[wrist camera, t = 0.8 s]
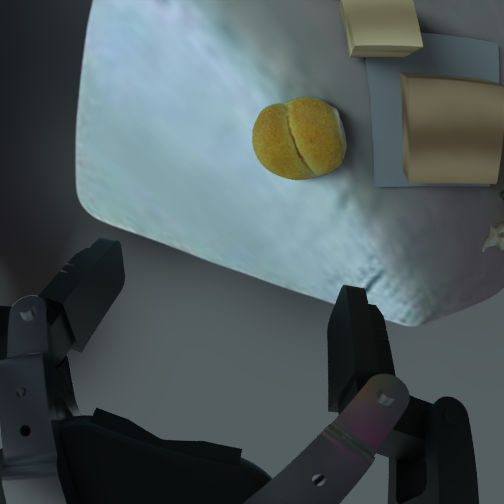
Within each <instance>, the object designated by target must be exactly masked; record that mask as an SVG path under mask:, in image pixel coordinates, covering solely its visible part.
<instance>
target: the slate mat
mask: <svg viewBox="0 0 504 504" xmlns="http://www.w3.org/2000/svg"><path fill="white" fill-rule="evenodd" d="M420 33H421V38H422V43H423V47H422V48H420V49H418V50H416V51H415V52H413V53H411V54H409V55H408V56H406V57H365V63H366V71H367V80H368V89H369V99H370V111H371V125H372V142H373V168H374V187H410V186H479V187H490V184H471V183H411V184H409V182H408V180H407V178H406V176H405V174H404V172H403V170H402V166H403V132H402V103H401V87H400V74H399V73H426V74H441V75H453V76H463V77H472V78H480V79H487V80H492V81H494V82H496V83H499V49H498V43H494V42H489V41H484V40H479V39H473V38H466V37H460V36H452V35H444V34H434V33H422V32H420Z"/></svg>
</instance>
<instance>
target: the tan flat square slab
mask: <svg viewBox="0 0 504 504" xmlns="http://www.w3.org/2000/svg"><path fill="white" fill-rule="evenodd" d="M399 74H400V87H401V103H402V132H403V166H402V170H403V172H404V174H405V176H406V178H407V180H408V182H409V184H411V183H471V184H497V179H498V174H499V167H500V160H501V153H502V145H503V136H504V86H503V85H501V84H499V83H496V82H494V81H492V80H487V79H480V78H472V77H463V76H453V75H441V74H426V73H399Z"/></svg>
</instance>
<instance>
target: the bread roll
mask: <svg viewBox="0 0 504 504" xmlns="http://www.w3.org/2000/svg"><path fill="white" fill-rule="evenodd" d="M252 143H253V148H254V151H255V154H256V156H257V158H258V160H259V161H260V162H261V164H262V165H263V166H264V167H265V168H266V169H268V170H269V171H270V172H272V173H274V174H276V175H278V176H281V177H284V178H288V179H292V180H305V179H309V178H313V177H316V176H321V175H325V174H327V173H330V172H331V171H333V170H334V169H336V168H337V167H338V166H339V165H340V164H341V163H342V161H343V159H344V156H345V152H346V148H347V142H346V136H345V131H344V128H343V123H342V120H341V119H340V116H339V112H338V110H337V109H336V108H335V107H333V106H331V105H329V104H328V103H326V102H325V101H323V100H321V99H318V98H311V97H301V98H297V99H295V100H292V101H290V102H287V103H282V104H273V105H270V106H268V107H266V108H265V109H263V110H262V111H261V113H260V114H259V116H258V118H257V120H256V122H255V124H254V127H253V136H252Z"/></svg>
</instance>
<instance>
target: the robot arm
mask: <svg viewBox="0 0 504 504" xmlns="http://www.w3.org/2000/svg"><path fill="white" fill-rule="evenodd" d="M124 281H125V272H124V265H123V256H122V248H121V244H120V242H119V241H116V240H111V239H106V238H99V239H98V240H97V241H96V242H95V243H94V244H93V245H92V246H91V247H90V248H86V249H84V250H82V251H80V252H79V253H77V254H75V255H74V257H72V258H71V259H70V261H69V262H68V263H67V265H65V266H64V267H63V268H62V269H61V272H59V273H58V274H57V275H56V276H55V277H54V278H53V279H52V280H51V282H50V283H49V284H48V285H47V286H46V287H45V288H44V290H43V291H42V292H41V293H40V294H39V295H38V296H26V297H23V298H21V299H19V300H18V301H17V302H16V303H15V304H14V305H13V306H0V429H1V439H2V449H0V504H340V503H341V502H342V500H343V499H344V498H345V497H346V496H347V495H348V493H349V492H350V491H351V490H352V489H353V488H354V486H355V485H356V484H357V483H358V481H359V480H360V479H361V477H363V475H364V474H365V473H366V471H367V470H368V469H369V467H370V466H371V465H372V463H373V462H374V459H375V457H374V455H375V454H376V453H377V454H380V455H383V456H386V457H389V486H388V504H479V496H478V483H477V471H476V463H475V455H474V448H473V441H472V434H471V428H470V423H469V417H468V413H467V411H466V409H465V407H464V406H463V404H462V403H461V402H460V401H458V400H457V399H455V398H453V397H442V398H440V399H438V400H437V401H436V402H435V403H434V404H431V403H429V402H426V401H423V400H420V399H417V398H415V397H413V396H410V395H409V391H408V389H407V387H406V385H405V384H404V383H403V382H402V381H401V380H400V379H399V378H397V377H396V375H395V370H394V365H393V359H392V354H391V349H390V344H389V340H388V334H387V331H386V325H385V321H384V316H383V315H382V313H381V312H380V311H379V309H378V308H377V306H376V305H371V304H368V300H367V295H366V291H365V289H364V288H359V287H353V286H348V285H343V286H342V288H341V290H340V293H339V295H338V298H337V301H336V303H335V306H334V308H333V311H332V313H331V316H330V319H329V323H328V329H327V341H328V411H329V412H339V416H338V417H337V418H336V419H335V420H334V421H333V422H332V423H331V424H330V425H328V426H327V427H326V428H325V429H324V430H323V431H322V432H321V433H320V434H319V435H318V436H317V438H316V439H314V440H313V441H312V443H310V444H309V445H308V446H307V447H306V448H305V450H303V451H302V452H301V453H300V454H299V455H298V456H297V457H296V458H295V459H294V460H293V461H292V462H291V463H290V464H289V465H287V466H286V467H285V468H284V469H283V470H282V471H281V472H280V473H279V474H277V476H275V477H274V478H273V479H272V478H271V476H269V475H268V474H267V473H266V472H265V471H264V470H262V469H261V468H260V467H258V466H257V465H255V464H254V463H251V462H250V461H248V460H246V459H244V458H241V452H242V449H239V448H234V447H229V446H224V445H219V444H214V443H210V442H205V441H177V440H163V439H160V438H158V437H156V436H155V435H153V434H151V433H149V432H148V431H146V430H145V429H143V428H141V427H140V426H138V425H136V424H135V423H133V422H132V421H130V420H128V419H126V418H123V417H120V416H117V415H114V414H112V413H109V412H107V411H104V410H101V409H98V408H96V410H95V412H94V414H93V416H89V415H88V416H86V415H81V413H80V410H79V408H78V405H77V402H76V399H75V394H74V388H73V383H72V377H71V372H70V365H69V359H68V356H67V353H68V351H69V350H70V349H73V350H76V351H78V352H82V351H83V349H84V347H85V346H86V344H87V343H88V341H89V339H90V338H91V336H92V335H93V333H94V331H95V330H96V328H97V327H98V325H99V324H100V322H101V320H102V319H103V317H104V316H105V314H106V313H107V311H108V310H109V308H110V306H111V305H112V304H113V302H114V301H115V299H116V298H117V296H118V295H119V293H120V292H121V290H122V288H123V285H124Z"/></svg>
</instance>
